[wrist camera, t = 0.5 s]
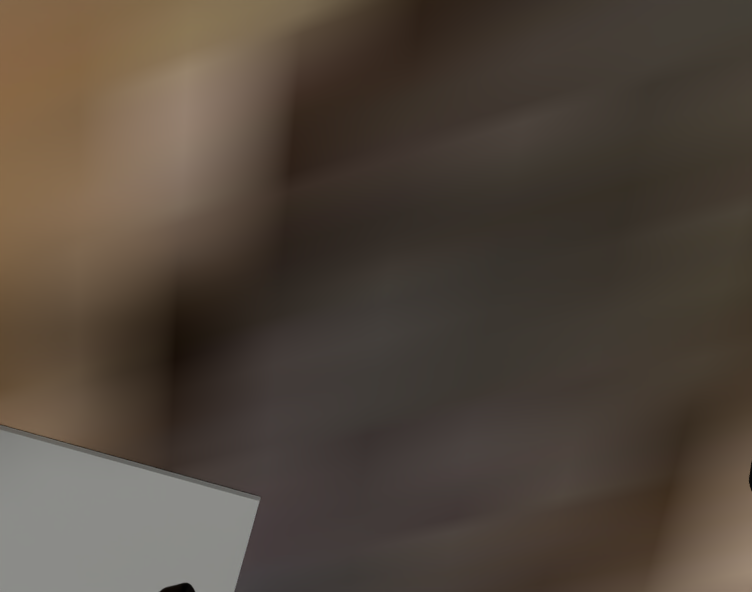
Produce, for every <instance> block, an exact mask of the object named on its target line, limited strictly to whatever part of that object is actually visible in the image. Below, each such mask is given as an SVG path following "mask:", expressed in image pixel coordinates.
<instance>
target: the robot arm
mask: <svg viewBox="0 0 752 592" xmlns="http://www.w3.org/2000/svg"><path fill="white" fill-rule="evenodd" d="M749 484H750V488H751V491H752V463H751V469H750V476H749ZM159 592H195V590H194V588H193V587H192V585H191V584H189V583H181V584H177V585H173V586H168V587H165V588H163V589H162V590H161V591H159Z"/></svg>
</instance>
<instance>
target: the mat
mask: <svg viewBox="0 0 752 592" xmlns="http://www.w3.org/2000/svg"><path fill="white" fill-rule="evenodd" d="M260 498H261V497H259V496H256V495H252V494H248V493H245V492H241V491H238V490H234V489H230V488H227V487H223V486H219V485H216V484H212V483H209V482H205V481H201V480H198V479H194V478H191V477H187V476H183V475H180V474H176V473H172V472H169V471H165V470H162V469H158V468H154V467H151V466H147V465H144V464H140V463H136V462H133V461H129V460H125V459H122V458H118V457H115V456H111V455H107V454H104V453H100V452H96V451H93V450H89V449H86V448H82V447H78V446H75V445H71V444H68V443H64V442H60V441H57V440H53V439H49V438H46V437H42V436H39V435H35V434H31V433H28V432H24V431H21V430H17V429H13V428H10V427H6V426H2V425H0V592H159V591H161V590H162V589H163V588H165V587H168V586H173V585H177V584H181V583H189V584H191V585H192V587H193V588H194V590H195V592H234V591H235V587H236V584H237V580H238V577H239V573H240V569H241V566H242V562H243V559H244V555H245V551H246V548H247V544H248V541H249V537H250V533H251V530H252V526H253V523H254V519H255V516H256V512H257V508H258V505H259V501H260Z"/></svg>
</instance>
